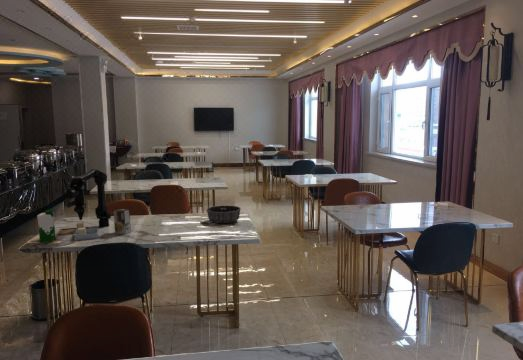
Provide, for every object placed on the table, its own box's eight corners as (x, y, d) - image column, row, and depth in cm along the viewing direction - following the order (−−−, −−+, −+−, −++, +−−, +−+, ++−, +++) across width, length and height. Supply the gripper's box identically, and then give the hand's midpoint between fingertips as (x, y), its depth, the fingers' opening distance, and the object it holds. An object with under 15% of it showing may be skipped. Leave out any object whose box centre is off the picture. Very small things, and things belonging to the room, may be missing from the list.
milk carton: (52, 242, 282) (49, 212, 279) (37, 242, 281) (35, 212, 278) (57, 238, 291) (55, 209, 288) (43, 239, 290) (40, 209, 287)
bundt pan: (204, 218, 345) (204, 205, 344) (237, 216, 351) (237, 204, 350) (208, 226, 320) (208, 213, 319) (243, 224, 326) (243, 211, 325)
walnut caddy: (88, 228, 317) (88, 226, 317) (87, 233, 303) (87, 231, 303) (60, 230, 311) (60, 228, 311) (57, 235, 297) (57, 234, 297)
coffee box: (131, 231, 306) (130, 209, 304) (125, 234, 300) (124, 211, 298) (120, 230, 309) (119, 208, 307) (114, 233, 303) (113, 210, 301)
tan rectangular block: (86, 235, 297) (85, 227, 296) (85, 237, 293) (85, 229, 292) (79, 235, 295) (78, 227, 295) (78, 237, 291) (77, 229, 290)
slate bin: (99, 233, 304) (98, 228, 303) (97, 238, 290) (97, 233, 290) (77, 234, 300) (76, 229, 299) (74, 240, 286) (74, 235, 286)
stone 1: (84, 229, 311) (83, 222, 310) (83, 231, 307) (83, 223, 306) (77, 230, 310) (76, 222, 309) (76, 231, 306) (76, 224, 305)
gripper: (67, 194, 298) (69, 216, 301) (64, 199, 281) (66, 223, 283) (85, 193, 302) (87, 215, 304) (83, 198, 284) (85, 221, 287)
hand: (81, 218), depth 295 cm, fingers open, 9 cm apart
